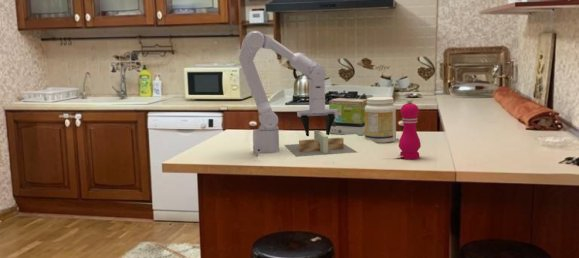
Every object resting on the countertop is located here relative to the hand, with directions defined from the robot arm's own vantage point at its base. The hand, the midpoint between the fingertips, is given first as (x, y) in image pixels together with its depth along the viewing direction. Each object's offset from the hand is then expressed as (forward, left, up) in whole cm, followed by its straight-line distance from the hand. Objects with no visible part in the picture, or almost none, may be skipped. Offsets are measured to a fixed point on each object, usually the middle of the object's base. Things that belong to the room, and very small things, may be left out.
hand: (317, 135), depth 208 cm
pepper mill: (+26, -23, -6) cm, 35 cm away
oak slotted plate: (0, -5, -5) cm, 7 cm away
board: (0, -2, -6) cm, 6 cm away
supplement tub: (+28, +11, -6) cm, 31 cm away
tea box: (+22, +33, -6) cm, 40 cm away
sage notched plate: (0, -4, -5) cm, 6 cm away
